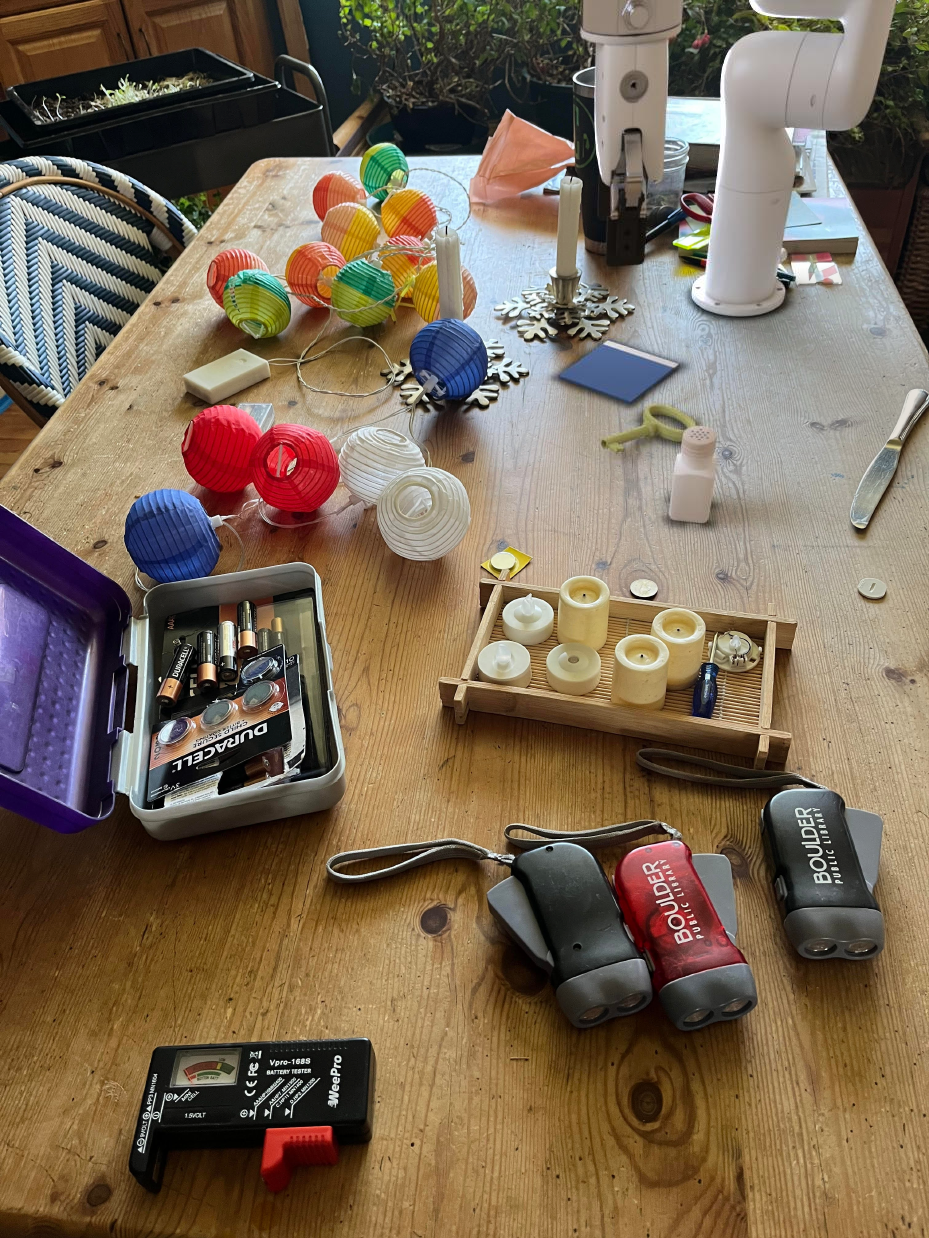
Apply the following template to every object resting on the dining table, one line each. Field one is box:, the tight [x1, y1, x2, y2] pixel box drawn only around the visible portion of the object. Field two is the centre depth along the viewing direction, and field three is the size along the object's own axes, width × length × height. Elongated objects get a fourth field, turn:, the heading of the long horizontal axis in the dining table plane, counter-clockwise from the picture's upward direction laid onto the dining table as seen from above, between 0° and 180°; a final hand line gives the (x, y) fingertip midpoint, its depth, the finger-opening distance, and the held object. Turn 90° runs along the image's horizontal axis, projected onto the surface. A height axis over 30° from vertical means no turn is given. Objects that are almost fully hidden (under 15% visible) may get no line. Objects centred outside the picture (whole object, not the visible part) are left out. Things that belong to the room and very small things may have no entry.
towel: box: [557, 339, 681, 405], centre depth 110 cm, size 11×11×1 cm
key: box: [600, 403, 697, 455], centre depth 99 cm, size 7×12×2 cm, turn 139°
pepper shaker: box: [668, 425, 718, 524], centre depth 87 cm, size 4×4×10 cm
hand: (619, 240), depth 77 cm, fingers open, 9 cm apart
